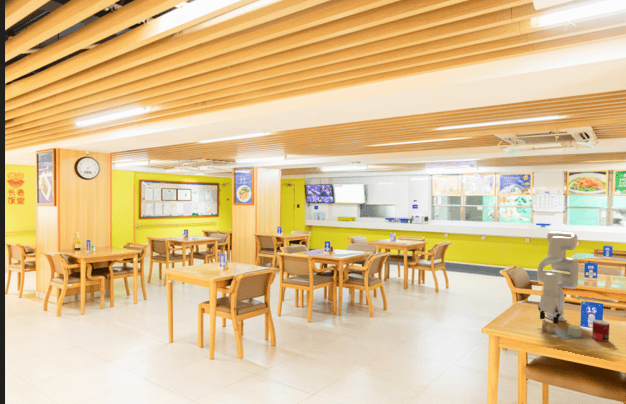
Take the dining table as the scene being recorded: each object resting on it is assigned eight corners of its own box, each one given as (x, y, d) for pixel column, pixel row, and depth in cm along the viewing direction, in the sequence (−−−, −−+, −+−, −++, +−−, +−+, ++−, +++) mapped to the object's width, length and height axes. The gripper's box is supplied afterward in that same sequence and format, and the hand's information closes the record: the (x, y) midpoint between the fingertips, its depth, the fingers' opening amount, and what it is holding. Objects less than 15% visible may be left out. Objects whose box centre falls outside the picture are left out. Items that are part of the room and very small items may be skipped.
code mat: (536, 329, 253) (536, 328, 253) (556, 327, 258) (556, 327, 258) (565, 340, 234) (565, 339, 234) (586, 338, 239) (586, 337, 239)
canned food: (605, 343, 231) (606, 324, 231) (589, 339, 238) (590, 320, 238) (610, 341, 236) (611, 322, 236) (595, 337, 242) (595, 319, 242)
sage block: (567, 334, 244) (567, 326, 244) (573, 333, 246) (574, 325, 246) (575, 337, 240) (575, 328, 240) (581, 336, 241) (581, 328, 241)
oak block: (541, 329, 251) (542, 320, 251) (548, 329, 253) (548, 319, 253) (548, 332, 246) (549, 322, 246) (555, 331, 248) (555, 322, 248)
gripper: (533, 290, 256) (532, 317, 256) (557, 296, 240) (556, 325, 240) (543, 290, 258) (541, 317, 258) (567, 296, 242) (566, 325, 242)
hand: (548, 321), depth 249 cm, fingers open, 9 cm apart
